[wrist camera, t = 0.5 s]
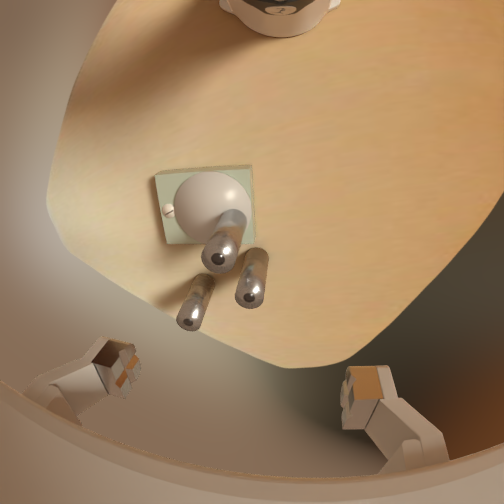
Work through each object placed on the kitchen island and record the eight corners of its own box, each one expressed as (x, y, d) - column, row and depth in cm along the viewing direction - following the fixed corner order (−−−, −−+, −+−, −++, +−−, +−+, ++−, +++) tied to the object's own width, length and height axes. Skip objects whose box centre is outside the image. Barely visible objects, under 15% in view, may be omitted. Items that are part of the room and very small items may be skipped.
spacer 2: (219, 209, 47) (199, 244, 36) (246, 208, 46) (233, 244, 36) (222, 233, 49) (203, 273, 38) (248, 233, 48) (236, 274, 38)
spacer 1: (192, 273, 58) (173, 312, 48) (213, 273, 57) (198, 313, 47) (196, 290, 60) (179, 330, 50) (216, 291, 60) (202, 332, 49)
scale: (161, 170, 48) (152, 176, 45) (251, 165, 46) (248, 170, 43) (172, 236, 54) (165, 245, 51) (255, 236, 52) (253, 245, 49)
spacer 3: (244, 247, 54) (233, 286, 43) (268, 247, 53) (263, 286, 43) (246, 267, 56) (236, 308, 45) (269, 267, 55) (263, 309, 45)
